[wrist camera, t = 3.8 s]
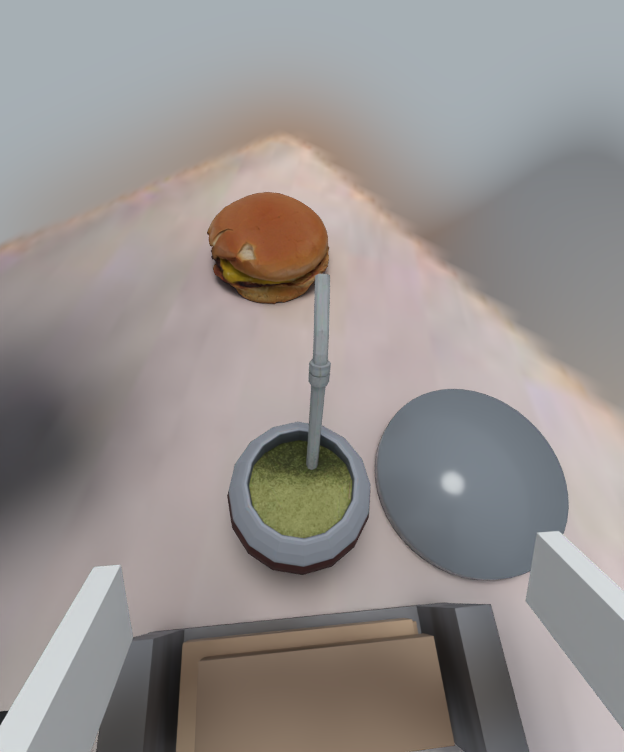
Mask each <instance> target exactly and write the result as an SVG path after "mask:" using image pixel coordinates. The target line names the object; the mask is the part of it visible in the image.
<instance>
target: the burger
mask: <svg viewBox="0 0 624 752" xmlns="http://www.w3.org/2000/svg"><path fill="white" fill-rule="evenodd" d="M207 234H208V235H209V244H210V246H213V247H212V250H211V252H212V259H214V260H215V261H216V264H215V265H214V267H213V270H214V273H215V275H216V276H218V277H220V278H221V279H222V280H223V281H224V282H226V283H229V284H231V285H232V286H233V287H235V288H236V289H237V291H238V293H239V294H240V295H242V297H244V298H246V299H248V300H251V301H255V302H259V303H272V304H275V303H276V302H286V301H289V300H292V299H295V298H296V297H298V296H300V295H302V294H304V293H305V292H306V291H307V290H308V289H309V286H310V285H311V284H312V283H313V282H314V281H315V275H317V274H322V273H323V272H324V271H325V270H326V268H327V267H328V266H327V265H328V261H329V255H328V250H329V246H328V236H327V231H326V228H325V226H324V224H323V222H322V220H321V219H320V217H319V216H318V215H317V214H316V213H315V212H314V211H313V210H312V209H311V208H309V207H308V206H306V205H305V204H303V203H302V202H300V201H298V200H296V199H294V198H291V197H289V196H286V195H283V194H280V193H272V192H264V193H256V194H252V195H249V196H246V197H244V198H242V199H240V200H237V201H235V202H233V203H231V204H230V205H228V206H226V207H225V208H224V209H223V210H222V211H221V212H220V213H219V214H218V215H217V216H216V217H215V218H214V220H213V221H212V223H211V225H210V227H209V229H208V232H207Z"/></svg>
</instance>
